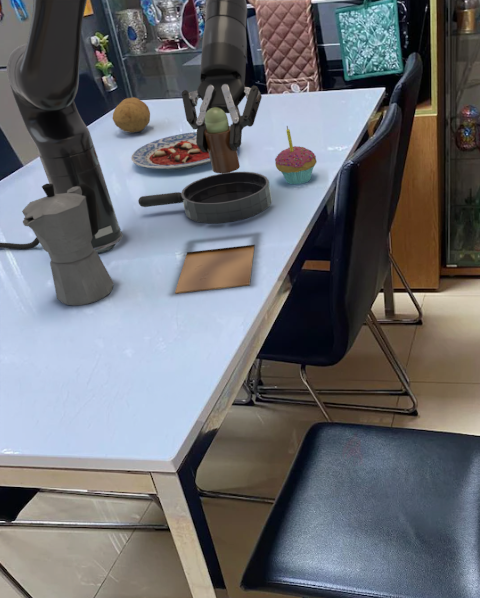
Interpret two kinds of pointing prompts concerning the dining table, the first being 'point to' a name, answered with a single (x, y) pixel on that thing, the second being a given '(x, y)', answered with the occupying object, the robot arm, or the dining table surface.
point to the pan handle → (160, 199)
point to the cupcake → (295, 163)
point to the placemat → (216, 269)
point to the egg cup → (220, 142)
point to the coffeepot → (70, 243)
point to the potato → (131, 115)
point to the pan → (226, 197)
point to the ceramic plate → (171, 153)
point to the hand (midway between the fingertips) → (218, 148)
